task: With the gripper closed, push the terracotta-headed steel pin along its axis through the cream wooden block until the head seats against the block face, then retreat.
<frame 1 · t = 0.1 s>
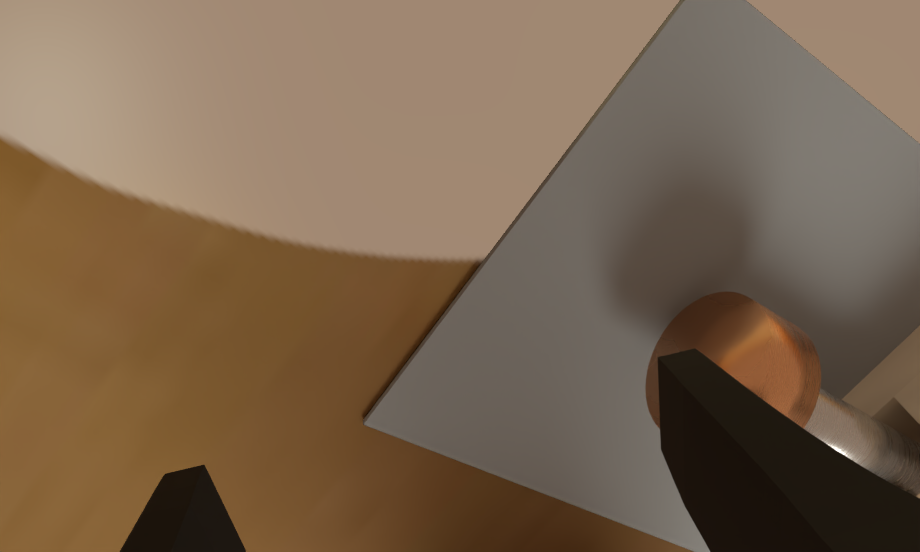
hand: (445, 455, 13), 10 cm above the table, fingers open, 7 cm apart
pin: (818, 424, 24), point 3 cm above the table, slide at 0.0 cm
mat: (790, 377, 27), on the table
hitch block: (889, 430, 29), resting on mat
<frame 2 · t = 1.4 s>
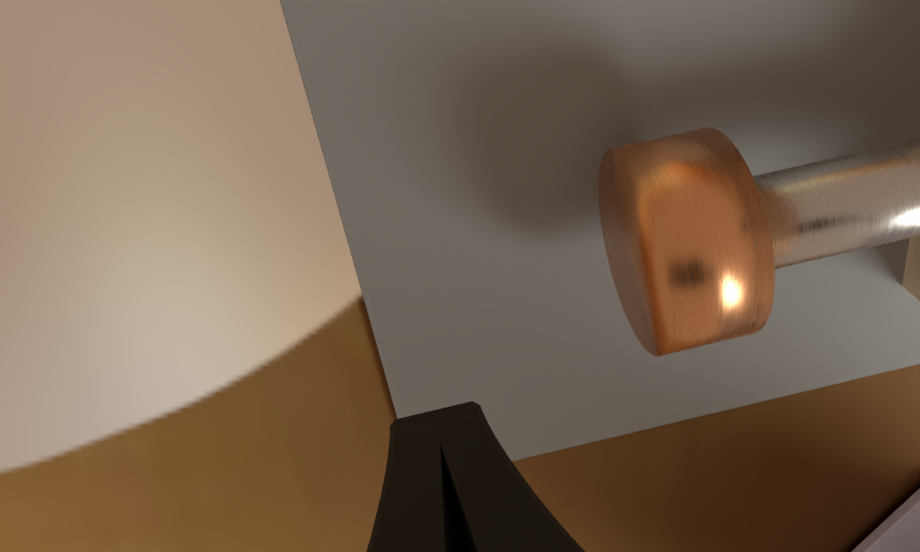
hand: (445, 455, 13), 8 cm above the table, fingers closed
pin: (860, 200, 17), point 3 cm above the table, slide at 0.0 cm
mat: (833, 138, 20), on the table
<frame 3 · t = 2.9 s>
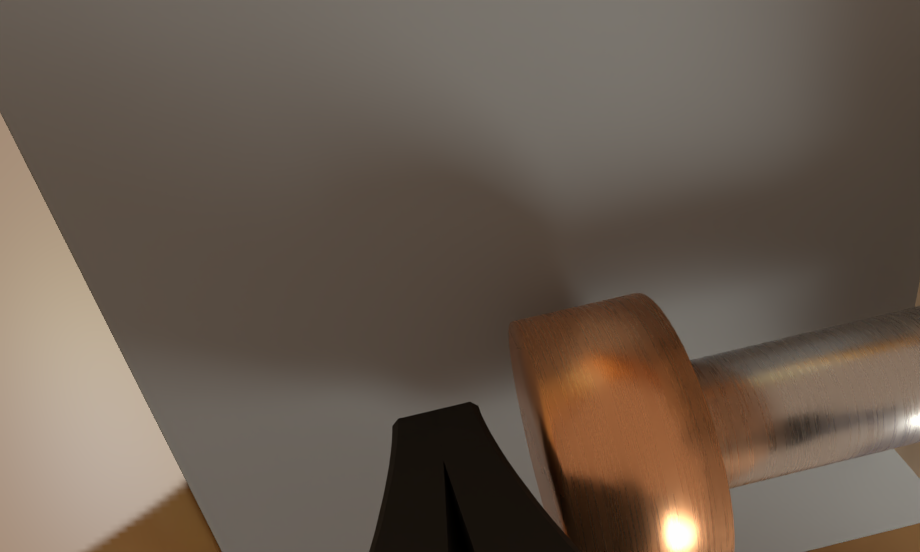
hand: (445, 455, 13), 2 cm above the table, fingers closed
pin: (856, 387, 13), point 3 cm above the table, slide at 0.4 cm, touching gripper
mat: (800, 279, 15), on the table
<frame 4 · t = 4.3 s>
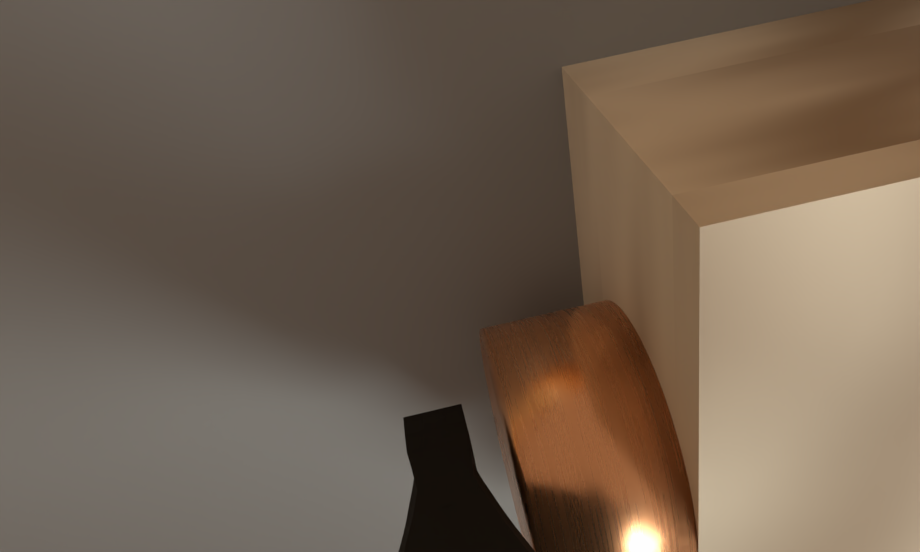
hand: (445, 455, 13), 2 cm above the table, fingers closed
pin: (826, 395, 12), point 3 cm above the table, slide at 6.5 cm, touching gripper, hitch block
mat: (461, 358, 15), on the table
hitch block: (744, 295, 15), resting on mat
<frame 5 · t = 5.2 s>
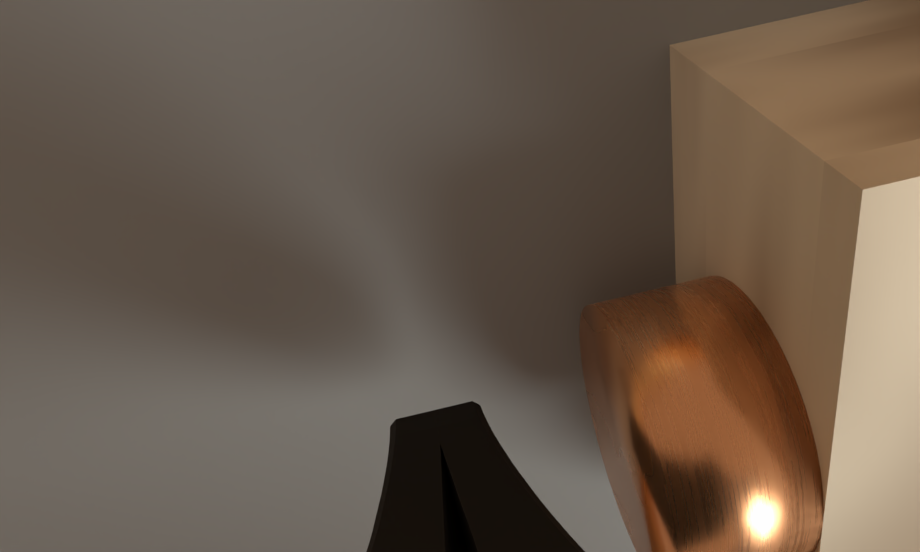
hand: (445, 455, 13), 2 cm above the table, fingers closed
mat: (552, 338, 15), on the table
hitch block: (832, 273, 15), resting on mat
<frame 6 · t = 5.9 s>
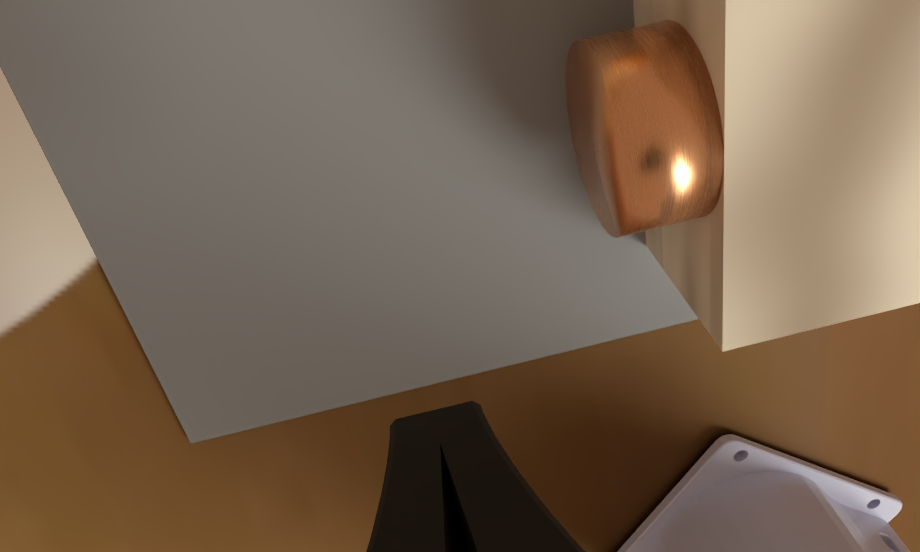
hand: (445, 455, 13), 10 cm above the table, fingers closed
pin: (809, 90, 18), point 3 cm above the table, slide at 6.5 cm, touching hitch block
mat: (546, 101, 20), on the table
hitch block: (751, 52, 20), resting on mat
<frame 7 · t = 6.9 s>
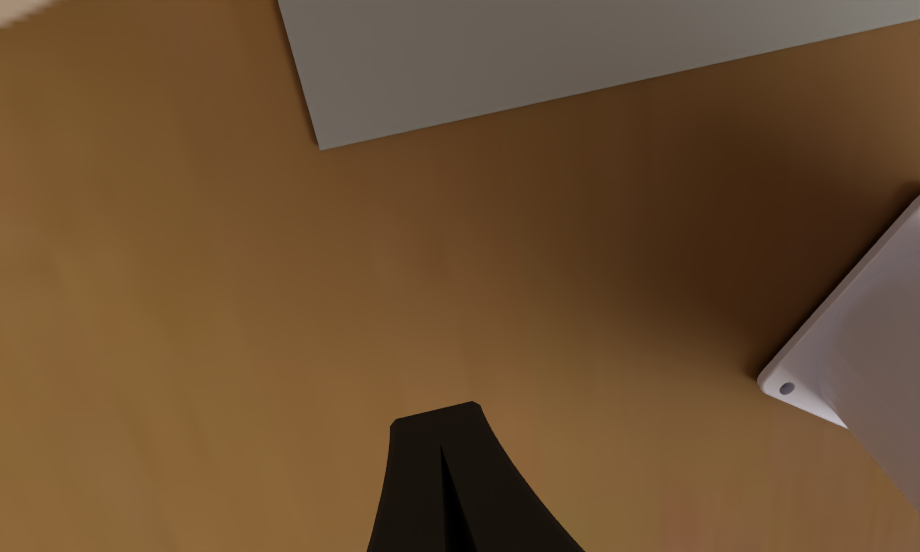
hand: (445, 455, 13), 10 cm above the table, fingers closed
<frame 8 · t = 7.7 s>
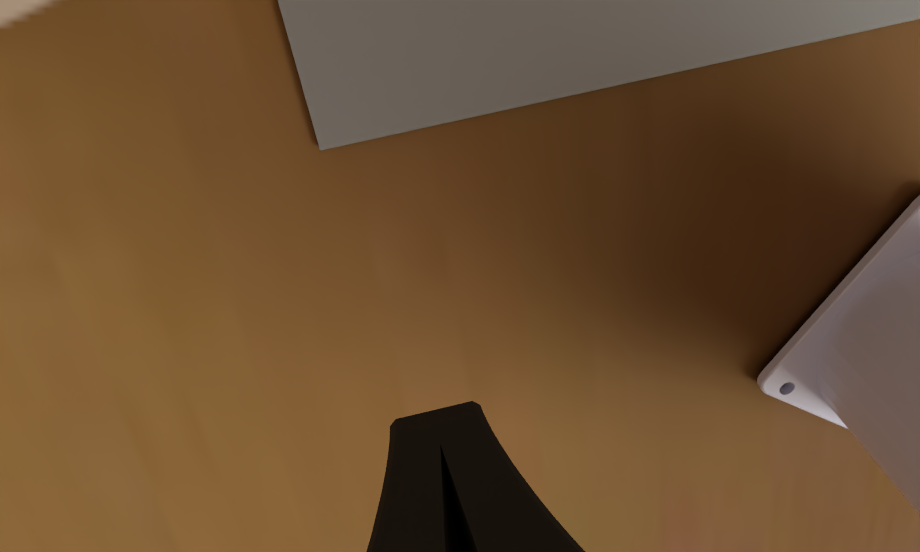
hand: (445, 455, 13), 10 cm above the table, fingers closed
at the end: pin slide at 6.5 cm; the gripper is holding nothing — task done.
